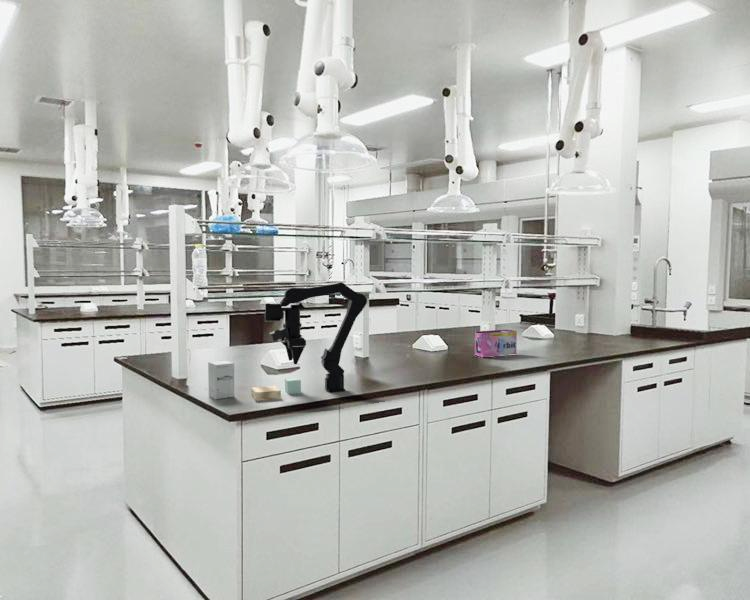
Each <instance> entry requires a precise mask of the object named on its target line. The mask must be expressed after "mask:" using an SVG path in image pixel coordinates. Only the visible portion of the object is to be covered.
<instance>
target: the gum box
mask: <svg viewBox="0 0 750 600" xmlns="http://www.w3.org/2000/svg"><path fill="white" fill-rule="evenodd" d="M517 334H518V333H517V330H512V329H497V330H496V329H495V330H481V331H476V330H475V334H474V335H475V336H474V339H475V340H474V356H475V355H477V356H481V357H489V356H500V355H509V354H516V355H517Z"/></svg>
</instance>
